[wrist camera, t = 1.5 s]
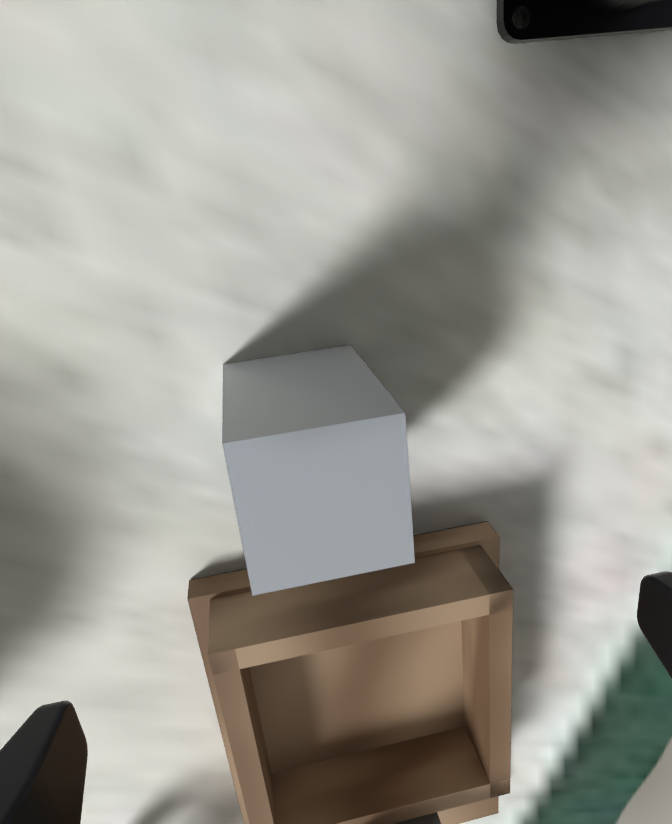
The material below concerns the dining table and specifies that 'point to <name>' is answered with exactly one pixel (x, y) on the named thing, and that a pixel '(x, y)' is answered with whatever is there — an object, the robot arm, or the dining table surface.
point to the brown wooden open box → (366, 687)
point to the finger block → (316, 468)
